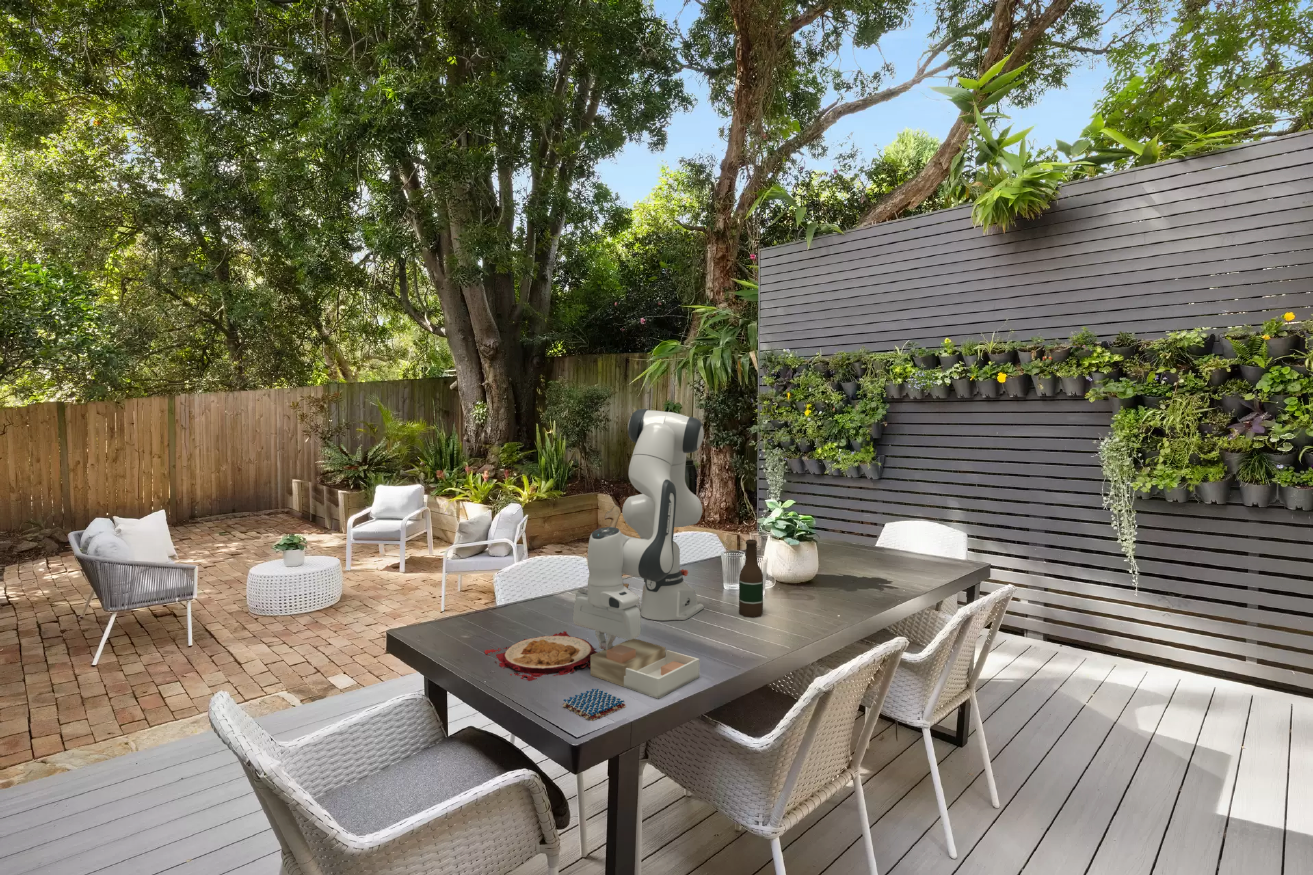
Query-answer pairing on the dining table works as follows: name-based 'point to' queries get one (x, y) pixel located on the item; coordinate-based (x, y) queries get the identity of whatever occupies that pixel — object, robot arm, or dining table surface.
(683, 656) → the box
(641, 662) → the wooden box sleeve
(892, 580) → the dining table surface
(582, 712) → the woven mat
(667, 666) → the terracotta tile
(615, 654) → the terracotta tile
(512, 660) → the plate with food
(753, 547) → the beer bottle
